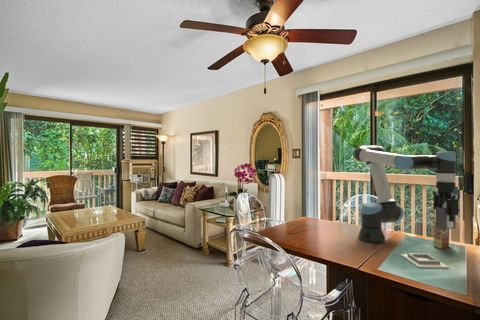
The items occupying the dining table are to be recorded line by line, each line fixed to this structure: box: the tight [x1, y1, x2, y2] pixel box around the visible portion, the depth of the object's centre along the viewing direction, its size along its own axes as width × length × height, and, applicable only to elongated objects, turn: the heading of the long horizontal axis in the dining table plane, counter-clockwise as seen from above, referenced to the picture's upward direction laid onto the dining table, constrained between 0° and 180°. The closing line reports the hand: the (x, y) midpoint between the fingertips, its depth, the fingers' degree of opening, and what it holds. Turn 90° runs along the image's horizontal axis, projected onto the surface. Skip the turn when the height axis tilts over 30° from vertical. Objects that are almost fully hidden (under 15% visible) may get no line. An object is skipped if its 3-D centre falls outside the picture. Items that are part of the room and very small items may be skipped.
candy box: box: [432, 221, 450, 249], centre depth 138 cm, size 9×4×15 cm, turn 115°
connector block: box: [434, 204, 457, 230], centre depth 119 cm, size 5×6×12 cm
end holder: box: [400, 252, 450, 269], centre depth 119 cm, size 14×14×2 cm
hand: (445, 225), depth 119 cm, fingers closed on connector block, 5 cm apart
